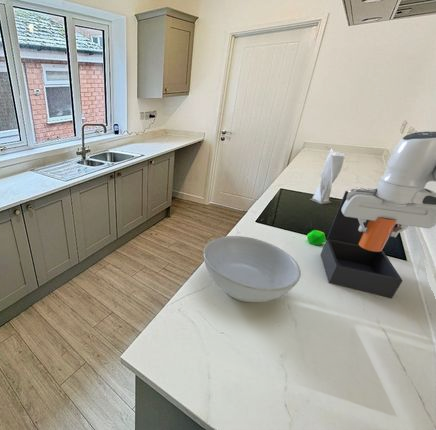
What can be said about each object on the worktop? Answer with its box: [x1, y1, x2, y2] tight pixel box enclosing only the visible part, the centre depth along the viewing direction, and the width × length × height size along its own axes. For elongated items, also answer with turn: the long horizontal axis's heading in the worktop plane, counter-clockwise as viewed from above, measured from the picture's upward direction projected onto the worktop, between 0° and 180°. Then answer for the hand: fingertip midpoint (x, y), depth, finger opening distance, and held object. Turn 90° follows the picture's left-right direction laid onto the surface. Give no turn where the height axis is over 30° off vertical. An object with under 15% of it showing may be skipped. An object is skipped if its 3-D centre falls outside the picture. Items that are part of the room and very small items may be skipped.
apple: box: [306, 229, 327, 246], centre depth 107 cm, size 7×6×9 cm
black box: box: [320, 238, 403, 299], centre depth 88 cm, size 18×16×8 cm
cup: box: [357, 217, 397, 252], centre depth 80 cm, size 6×6×11 cm
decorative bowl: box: [203, 235, 302, 303], centre depth 83 cm, size 27×27×12 cm
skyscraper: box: [309, 147, 346, 205], centre depth 138 cm, size 8×8×28 cm
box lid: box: [326, 190, 397, 249], centre depth 89 cm, size 18×16×1 cm
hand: (376, 233), depth 80 cm, fingers closed on cup, 5 cm apart
